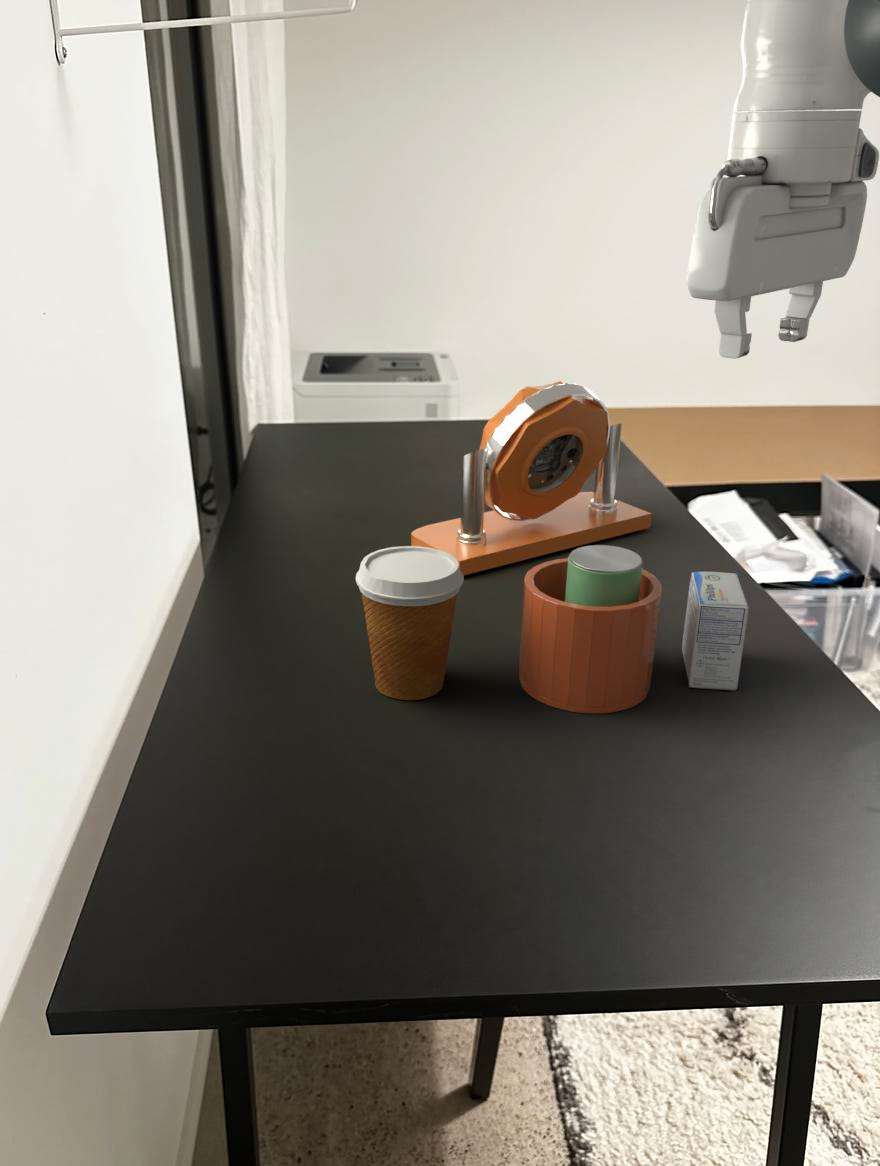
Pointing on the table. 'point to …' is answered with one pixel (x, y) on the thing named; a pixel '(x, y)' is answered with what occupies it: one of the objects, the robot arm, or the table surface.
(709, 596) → the medicine box
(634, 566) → the can
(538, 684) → the holder
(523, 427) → the desk clock
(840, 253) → the robot arm
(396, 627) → the disposable coffee cup
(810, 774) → the table surface
